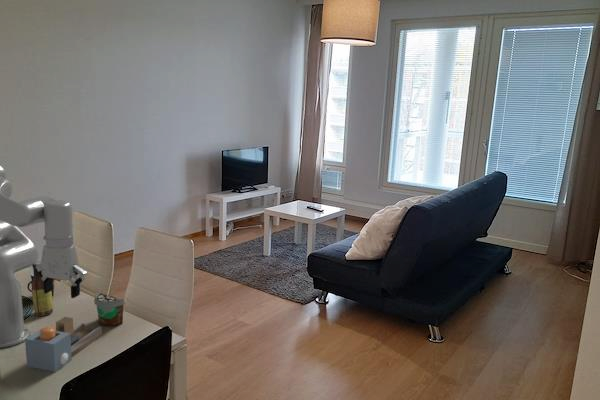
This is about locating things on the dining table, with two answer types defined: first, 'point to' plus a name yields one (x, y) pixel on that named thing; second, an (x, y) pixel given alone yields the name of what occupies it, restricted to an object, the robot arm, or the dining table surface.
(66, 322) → the carriage
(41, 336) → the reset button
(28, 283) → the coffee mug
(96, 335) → the rail
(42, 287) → the sauce bottle
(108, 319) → the food container
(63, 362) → the blue-grey box
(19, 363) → the dining table surface
